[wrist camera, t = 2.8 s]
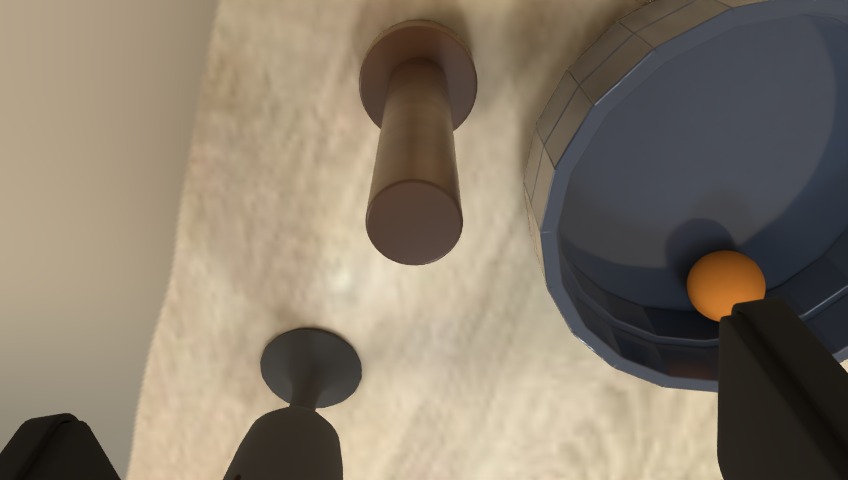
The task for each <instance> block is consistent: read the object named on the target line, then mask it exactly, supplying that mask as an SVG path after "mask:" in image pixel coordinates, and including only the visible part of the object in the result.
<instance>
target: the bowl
mask: <svg viewBox="0 0 848 480" xmlns="http://www.w3.org/2000/svg"><path fill="white" fill-rule="evenodd" d="M524 190H525V197H526V205H527V212H528V219H529V227H530V233H531V236H532V240H533V243H534V246H535V250H536V253H537V256H538V260H539V263H540V266H541V270H542V273H543V276H544V280H545V283H546V286H547V289H548V291H549V293H550V295H551V297H552V298H553V300H554V302H555V304H556V306H557V307H558V309H559V311H560V313H561V315H562V316H563V318H564V320H565V322H566V324H567V325H568V327H569V329H570V331H571V332H572V333H573V335H574V336H575V337H577V338H578V339H579V340H580V341H581V342H583V343H584V344H585V345H586V346H587V347H589V348H590V349H591V350H592V351H594V352H595V353H596V354H597V355H598V356H600V357H601V358H602V359H603V360H604V361H606V362H607V363H608V364H609V365H610V366H612V367H614V368H615V369H618V370H620V371H623V372H625V373H628V374H630V375H633V376H636V377H638V378H641V379H643V380H646V381H649V382H651V383H654V384H656V385H659V386H661V387H666V388H676V389H687V390H697V391H708V392H718V366H719V321H715V320H712V319H709V318H708V317H706V316H704V315H703V314H701V313H700V312H699V311H698V310H697V309H696V308H695V307H694V306H693V304H692V303H691V301H690V298H689V296H688V292H687V279H688V275H689V272H690V270H691V268H692V267H693V266H694V264H695V263H696V262H697V261H698V260H699V259H700V258H702V257H703V256H705V255H707V254H709V253H712V252H716V251H723V250H727V251H734V252H738V253H741V254H743V255H745V256H747V257H749V258H750V259H751V260H753V261H754V262H755V263H756V264H757V265H758V267H759V268H760V270H761V271H762V274H763V276H764V279H765V285H766V289H765V296H764V299H765V298H771V297H780V298H782V299H783V300H784V301H785V302H786V303H787V304H788V305H789V306H790V308H791V309H792V310H793V311H794V312H795V313H796V314H797V316H798V317H799V318H800V319H801V320H802V321H803V322H804V324H805V325H806V326H807V327H808V328H809V329H810V330H811V332H812V333H813V334H814V335H815V336H816V337H817V338H818V340H819V341H820V342H821V343H822V344H823V345H824V346H825V348H826V349H827V350H828V351H829V352H830V353H831V354H832V356H833V357H834V358H835V359H836V360H837V361H838V362H839V363H841V362H843V361H844V360H847V359H848V0H655V1H653V2H651V3H649V4H647V5H646V6H644V7H642V8H640V9H638V10H636V11H634V12H632V13H631V14H629V15H627V16H625V17H623V18H621V19H619V20H618V22H616V23H615V24H614V25H613V26H612V27H611V28H610V29H609V30H608V31H607V32H605V33H604V34H603V35H602V36H601V37H600V38H599V39H598V40H597V41H596V42H595V43H594V44H593V45H592V46H591V47H590V48H589V49H588V50H587V51H586V52H585V53H584V54H583V55H582V56H581V57H580V58H579V59H578V60H577V61H576V62H574V63H573V64H572V65H571V66H570V67H569V69H568V70H567V71H566V72H565V74H564V76H563V78H562V79H561V81H560V83H559V85H558V86H557V88H556V90H555V92H554V93H553V95H552V97H551V99H550V100H549V102H548V104H547V106H546V107H545V109H544V111H543V113H542V115H541V116H540V118H539V120H538V122H537V123H536V127H535V130H534V135H533V139H532V144H531V149H530V154H529V158H528V163H527V168H526V173H525V177H524Z"/></svg>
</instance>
